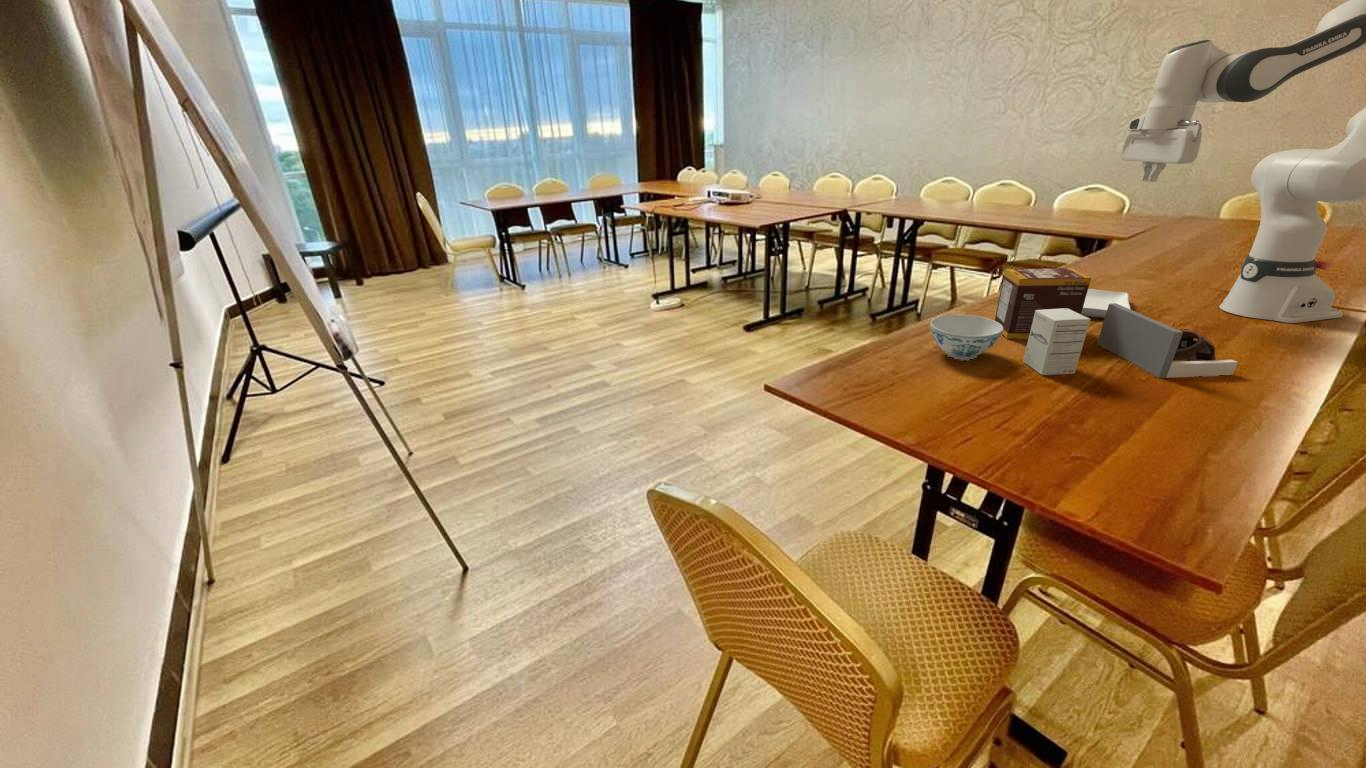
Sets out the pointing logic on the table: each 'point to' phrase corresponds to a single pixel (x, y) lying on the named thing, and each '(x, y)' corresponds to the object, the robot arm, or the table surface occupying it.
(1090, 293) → the salad plate
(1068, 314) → the supplement box
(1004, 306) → the supplement box
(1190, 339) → the pottery mug
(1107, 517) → the table surface
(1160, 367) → the display stand
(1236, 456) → the table surface
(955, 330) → the chinaware
